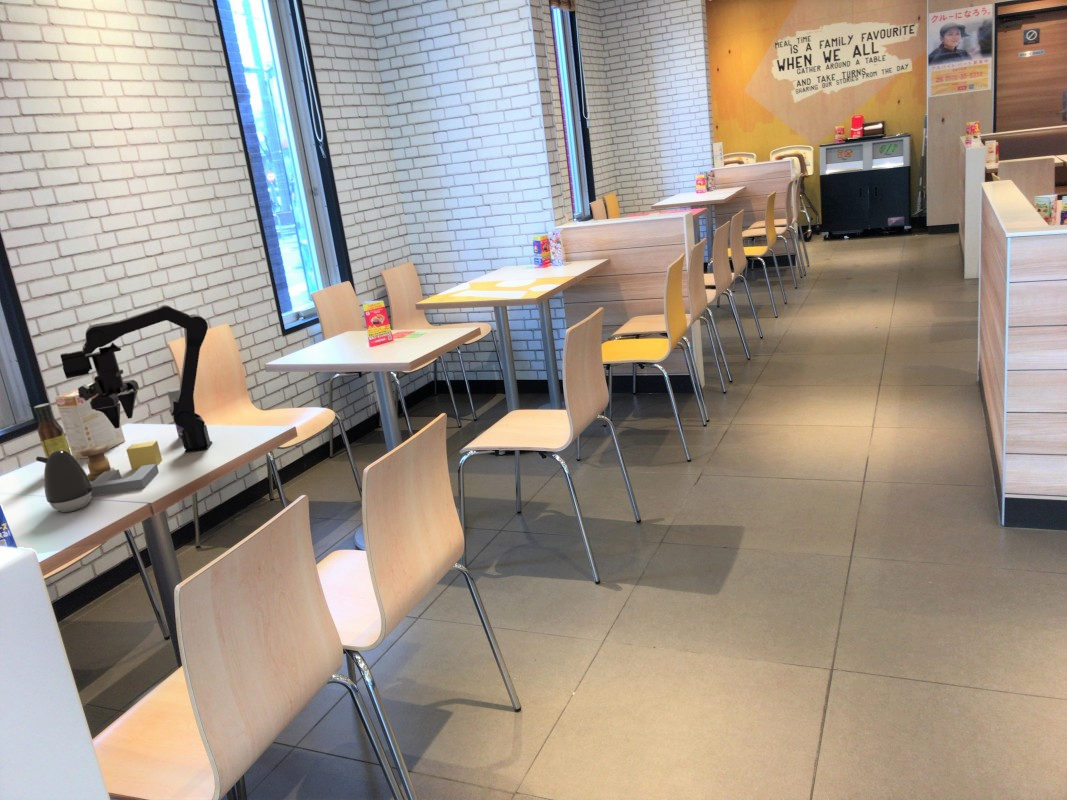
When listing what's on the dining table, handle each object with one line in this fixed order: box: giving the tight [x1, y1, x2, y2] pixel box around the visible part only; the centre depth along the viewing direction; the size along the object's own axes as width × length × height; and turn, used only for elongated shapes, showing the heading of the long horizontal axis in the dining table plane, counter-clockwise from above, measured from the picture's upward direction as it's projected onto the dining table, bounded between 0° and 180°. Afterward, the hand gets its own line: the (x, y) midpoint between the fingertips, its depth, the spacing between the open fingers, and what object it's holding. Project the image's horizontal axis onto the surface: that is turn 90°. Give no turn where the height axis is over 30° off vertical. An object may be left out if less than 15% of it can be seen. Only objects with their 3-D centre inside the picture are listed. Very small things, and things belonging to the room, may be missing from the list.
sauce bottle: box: [33, 402, 72, 458], centre depth 239 cm, size 6×6×20 cm
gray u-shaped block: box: [90, 464, 160, 497], centre depth 222 cm, size 14×12×2 cm
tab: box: [126, 440, 163, 470], centre depth 236 cm, size 7×4×6 cm, turn 96°
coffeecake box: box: [54, 382, 126, 460], centre depth 256 cm, size 15×7×20 cm, turn 164°
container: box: [166, 387, 184, 439], centre depth 259 cm, size 5×5×15 cm
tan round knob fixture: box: [80, 444, 116, 482], centre depth 231 cm, size 7×7×8 cm
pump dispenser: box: [35, 450, 92, 513], centre depth 208 cm, size 10×10×15 cm
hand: (123, 423), depth 236 cm, fingers open, 9 cm apart
